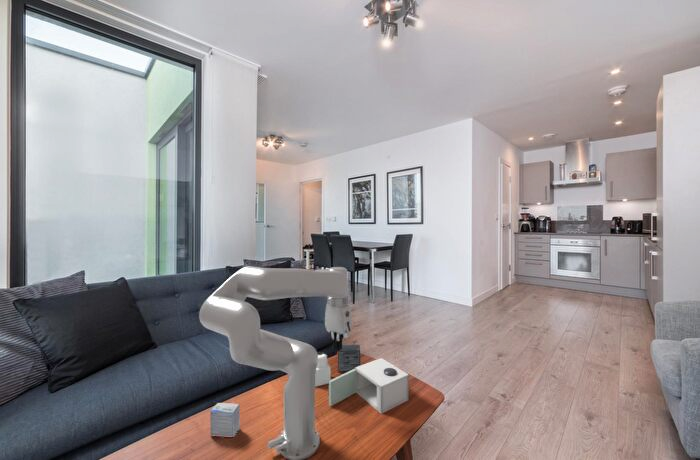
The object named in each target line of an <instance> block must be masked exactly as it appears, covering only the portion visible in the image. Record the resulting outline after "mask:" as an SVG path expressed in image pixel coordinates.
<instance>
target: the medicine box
mask: <svg viewBox="0 0 700 460" xmlns="http://www.w3.org/2000/svg"><path fill="white" fill-rule="evenodd" d="M209 413H210V414H209V415H210V416H209V417H210V418H209V419H210V436H211V435H221V436H232V437H234V436H235V434H236V433H238V432H239V431H240V429H241V422H240V421H241V420H240V419H241V416H240V404H238V403H230V402H229V403H227V402H217V403H216V404H215V405H214V406H213V407H212V408H211V410H210V411H209ZM239 428H240V429H239ZM238 430H239V431H238ZM237 431H238V432H237ZM236 435H237V434H236ZM235 437H236V436H235ZM235 437H234V438H235Z"/></svg>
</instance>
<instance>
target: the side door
mask: <svg viewBox="0 0 700 460" xmlns="http://www.w3.org/2000/svg"><path fill="white" fill-rule="evenodd" d="M353 394H357V393H356V369H353V370H351V371H349V372H344V373H343V374H342V373H341V374H340V375H339V376H336V377H334V378H331V380H330V381H329V383H328V390H327V395H328V405H329V407H332V406H334V405H336V404H338V403H339V402H341V401H343V400H345V399H346V398H349V397H351V396H352V395H353Z"/></svg>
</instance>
